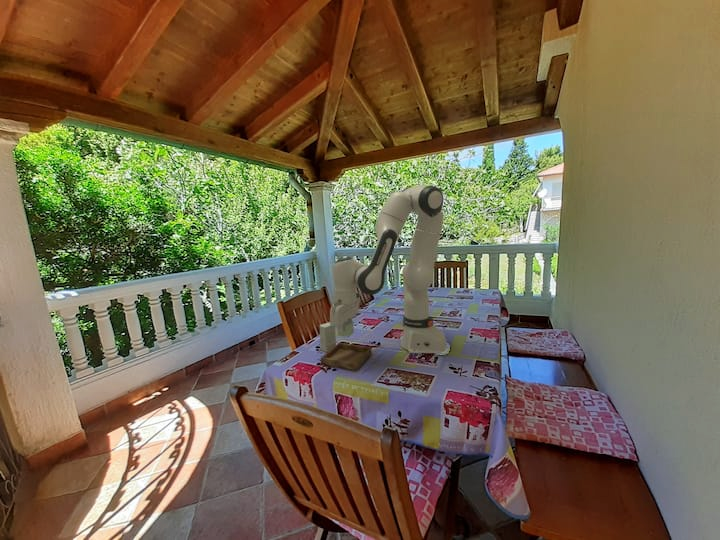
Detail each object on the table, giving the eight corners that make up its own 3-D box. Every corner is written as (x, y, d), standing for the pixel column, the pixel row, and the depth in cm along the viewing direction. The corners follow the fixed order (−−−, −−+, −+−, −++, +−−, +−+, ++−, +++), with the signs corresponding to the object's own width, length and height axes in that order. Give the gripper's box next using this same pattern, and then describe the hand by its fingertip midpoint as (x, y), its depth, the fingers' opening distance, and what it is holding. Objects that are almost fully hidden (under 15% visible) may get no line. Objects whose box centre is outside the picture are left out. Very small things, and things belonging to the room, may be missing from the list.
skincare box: (330, 345, 136) (329, 321, 134) (336, 348, 133) (335, 323, 131) (320, 350, 132) (319, 325, 130) (326, 352, 129) (324, 327, 127)
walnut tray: (371, 354, 126) (371, 347, 126) (356, 371, 112) (356, 364, 111) (339, 348, 133) (339, 342, 132) (321, 364, 118) (320, 357, 118)
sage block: (353, 332, 121) (353, 321, 121) (348, 337, 117) (348, 325, 116) (343, 331, 123) (342, 320, 123) (337, 335, 119) (337, 324, 118)
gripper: (339, 304, 107) (340, 339, 109) (361, 292, 125) (362, 322, 128) (325, 303, 110) (326, 337, 112) (348, 291, 128) (349, 320, 130)
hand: (345, 329), depth 120 cm, fingers closed on sage block, 5 cm apart
